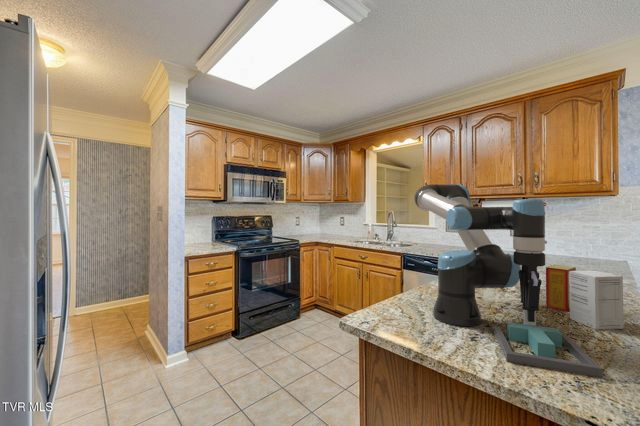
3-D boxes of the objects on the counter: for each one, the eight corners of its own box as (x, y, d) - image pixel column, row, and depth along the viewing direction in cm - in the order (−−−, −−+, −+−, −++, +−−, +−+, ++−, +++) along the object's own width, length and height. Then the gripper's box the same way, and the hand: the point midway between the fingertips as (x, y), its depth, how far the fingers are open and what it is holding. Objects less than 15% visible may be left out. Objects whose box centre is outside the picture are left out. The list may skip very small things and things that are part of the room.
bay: (506, 361, 69) (506, 353, 69) (493, 332, 86) (493, 325, 86) (602, 377, 62) (602, 368, 62) (567, 342, 79) (567, 335, 79)
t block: (517, 354, 72) (517, 339, 72) (507, 335, 84) (506, 322, 84) (577, 364, 68) (576, 347, 68) (557, 342, 79) (556, 328, 79)
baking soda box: (555, 302, 114) (554, 263, 114) (576, 307, 109) (575, 266, 109) (546, 307, 109) (545, 266, 109) (567, 312, 103) (567, 269, 103)
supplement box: (595, 318, 97) (594, 270, 97) (625, 329, 88) (624, 275, 88) (568, 318, 97) (568, 270, 97) (595, 329, 88) (595, 276, 88)
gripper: (552, 255, 75) (554, 342, 75) (537, 249, 87) (538, 325, 87) (519, 253, 78) (520, 338, 78) (508, 248, 90) (509, 321, 90)
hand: (529, 331), depth 82 cm, fingers closed
